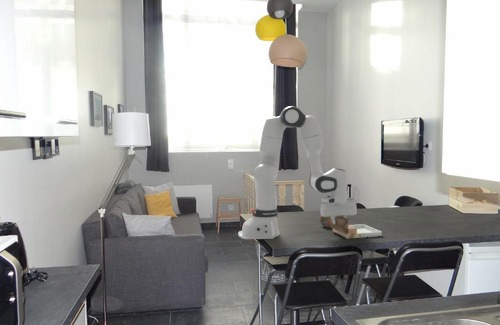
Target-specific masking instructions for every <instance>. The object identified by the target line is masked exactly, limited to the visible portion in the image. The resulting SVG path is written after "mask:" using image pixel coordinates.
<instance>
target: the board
mask: <svg viewBox="0 0 500 325" xmlns="http://www.w3.org/2000/svg"><path fill="white" fill-rule="evenodd" d="M332 232H333V233H335V234H337V235H340V236H342V237H343V238H345V239H347V240H348V239H359V238H360V239H362V238H361V233H358V232H357V233H353V234H348V233H342V232H340V231H338V230H336V229H334V228H332Z"/></svg>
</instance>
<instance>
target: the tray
mask: <svg viewBox="0 0 500 325" xmlns="http://www.w3.org/2000/svg"><path fill="white" fill-rule="evenodd" d="M348 225H349V226H352V227H355V228H357V232H358V233H361V238H360V239H365V238H366V237H368V238H377V237H379V236H380V237H383V231H382V230H379V229H376V228H374V227H371V226H369V225H367V224H364V223H361V224H348ZM380 237H379V238H380Z"/></svg>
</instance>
